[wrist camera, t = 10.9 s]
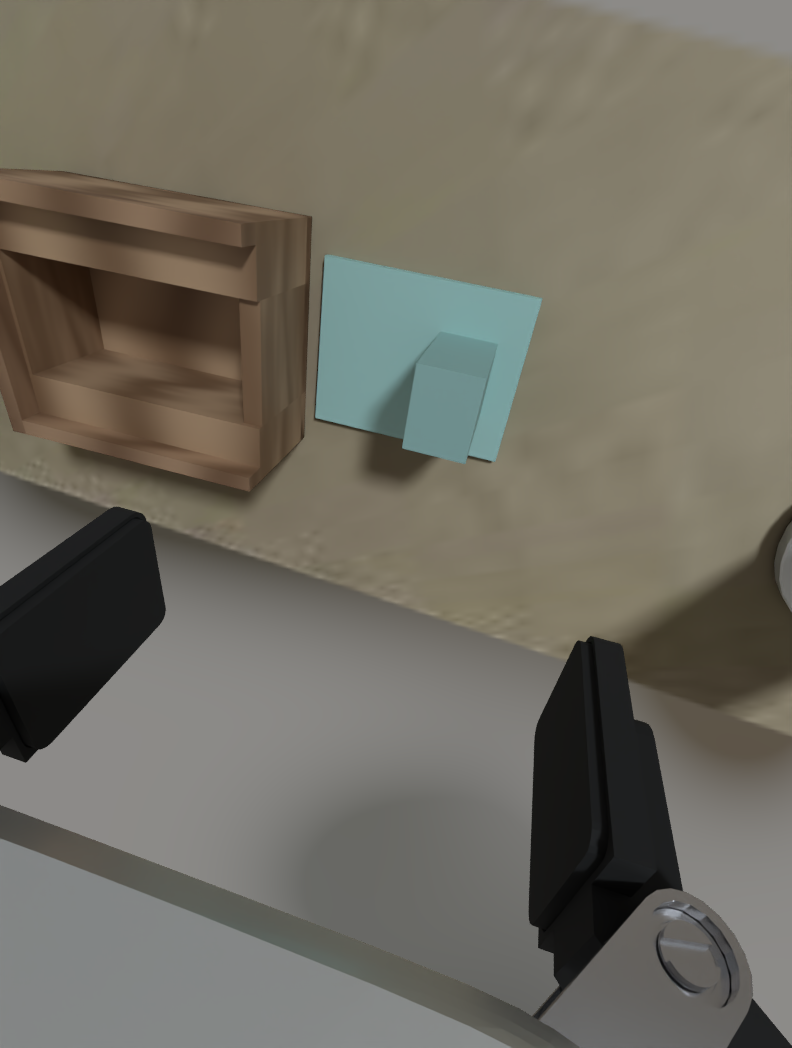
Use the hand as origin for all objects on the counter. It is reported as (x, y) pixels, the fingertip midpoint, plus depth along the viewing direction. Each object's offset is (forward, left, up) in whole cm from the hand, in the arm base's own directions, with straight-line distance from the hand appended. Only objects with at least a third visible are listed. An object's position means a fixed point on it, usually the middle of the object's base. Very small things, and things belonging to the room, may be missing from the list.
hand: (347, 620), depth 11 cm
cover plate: (+3, 0, -20) cm, 21 cm away
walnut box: (+16, 0, -20) cm, 26 cm away
